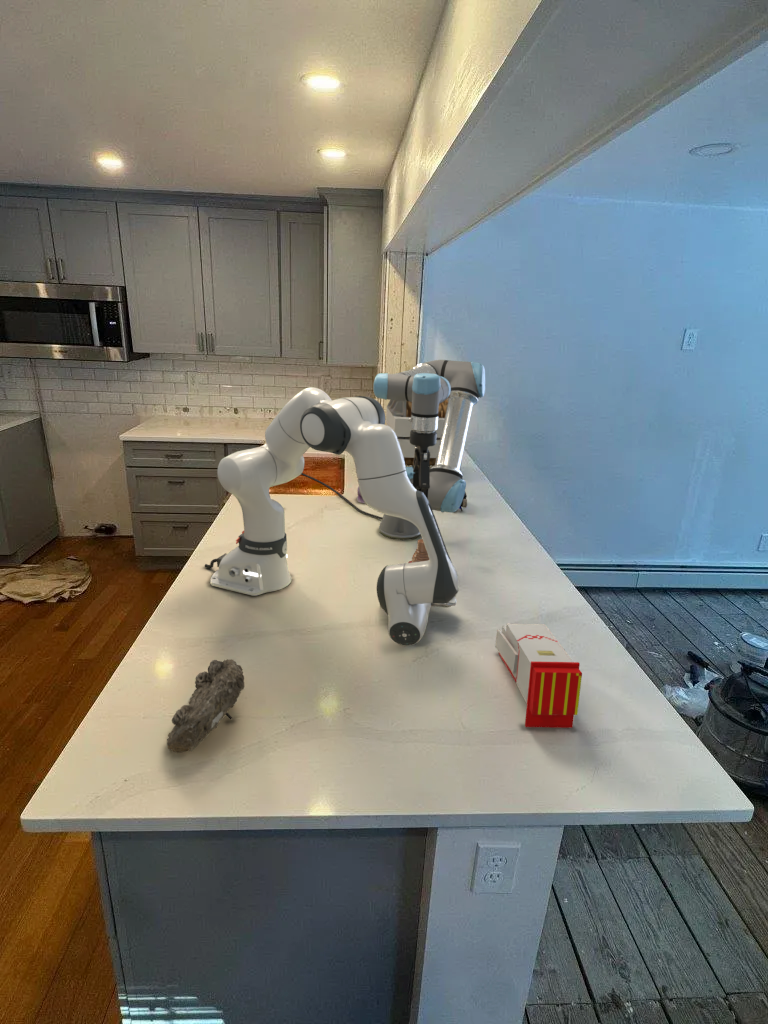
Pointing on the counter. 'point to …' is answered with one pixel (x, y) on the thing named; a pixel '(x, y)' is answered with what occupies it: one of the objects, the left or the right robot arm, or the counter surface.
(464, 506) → the figurine character
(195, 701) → the fossil
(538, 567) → the counter surface
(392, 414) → the slatted wooden crate
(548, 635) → the toy
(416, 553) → the bottle
